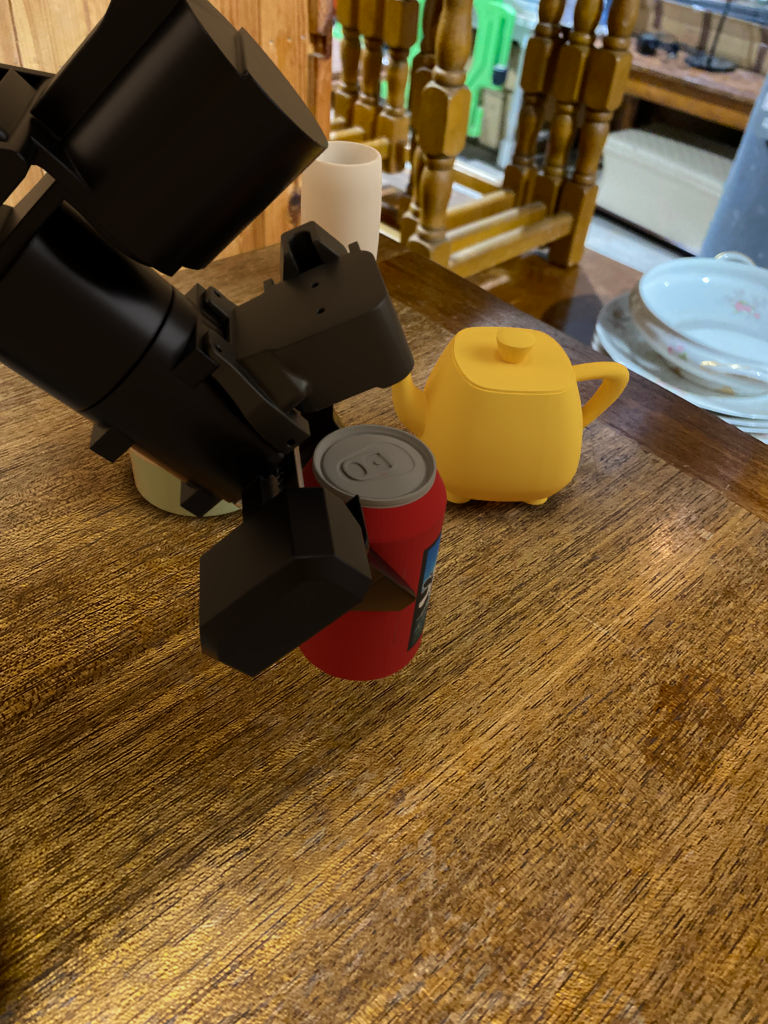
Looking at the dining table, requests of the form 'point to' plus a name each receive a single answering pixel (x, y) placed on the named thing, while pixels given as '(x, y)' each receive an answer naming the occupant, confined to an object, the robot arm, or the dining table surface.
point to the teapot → (505, 413)
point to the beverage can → (381, 542)
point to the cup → (345, 194)
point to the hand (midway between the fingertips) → (394, 548)
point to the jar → (165, 488)
